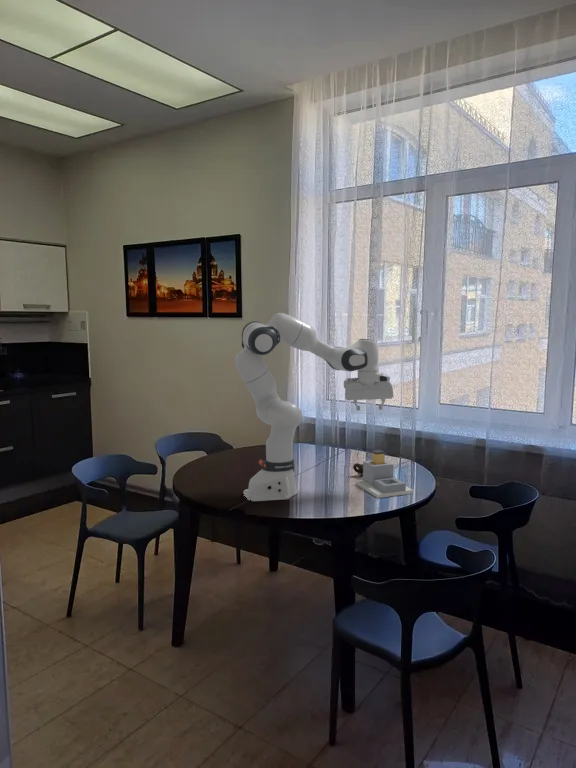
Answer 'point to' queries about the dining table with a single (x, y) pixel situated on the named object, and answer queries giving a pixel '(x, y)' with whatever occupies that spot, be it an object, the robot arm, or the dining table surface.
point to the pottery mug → (360, 468)
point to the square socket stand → (382, 480)
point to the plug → (378, 457)
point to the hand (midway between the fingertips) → (369, 409)
